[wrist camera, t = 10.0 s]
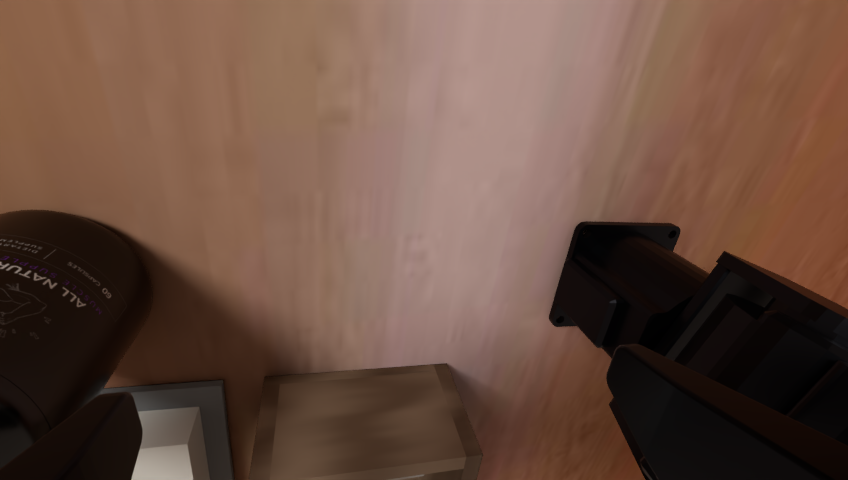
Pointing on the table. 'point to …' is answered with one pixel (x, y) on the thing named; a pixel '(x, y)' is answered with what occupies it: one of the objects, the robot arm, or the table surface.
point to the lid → (171, 446)
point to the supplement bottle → (61, 318)
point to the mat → (211, 411)
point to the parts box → (365, 427)
